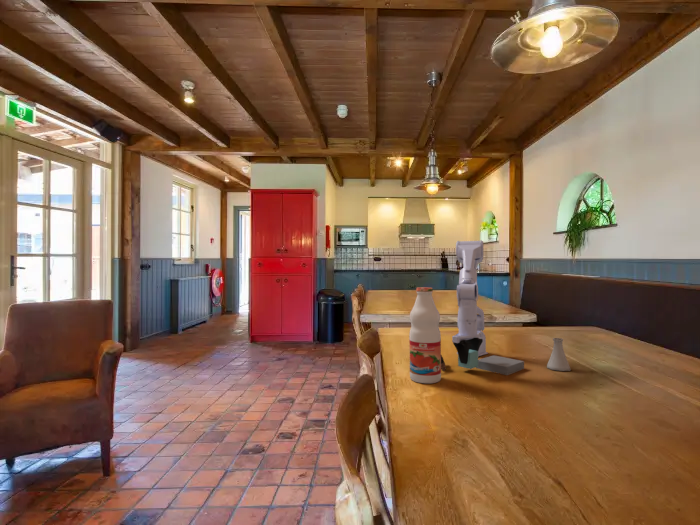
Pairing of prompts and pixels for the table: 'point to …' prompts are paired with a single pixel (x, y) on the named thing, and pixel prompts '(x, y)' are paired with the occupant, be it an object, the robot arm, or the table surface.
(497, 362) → the gray base
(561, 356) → the flask
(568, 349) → the table surface
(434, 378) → the fruit juice
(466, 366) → the teal block
